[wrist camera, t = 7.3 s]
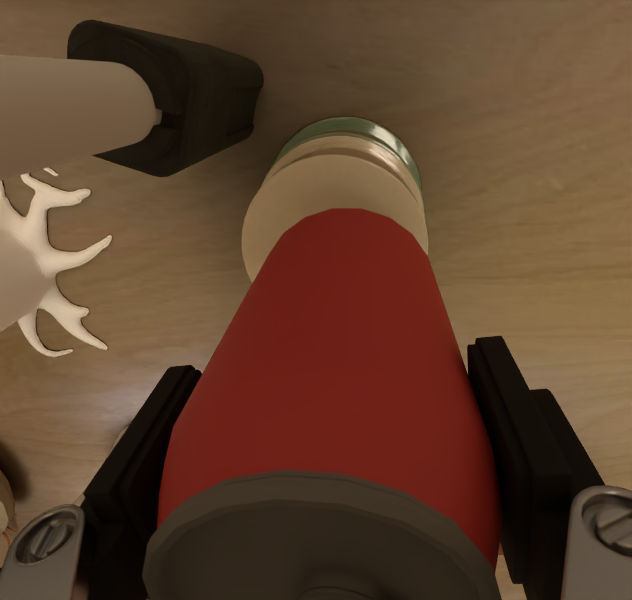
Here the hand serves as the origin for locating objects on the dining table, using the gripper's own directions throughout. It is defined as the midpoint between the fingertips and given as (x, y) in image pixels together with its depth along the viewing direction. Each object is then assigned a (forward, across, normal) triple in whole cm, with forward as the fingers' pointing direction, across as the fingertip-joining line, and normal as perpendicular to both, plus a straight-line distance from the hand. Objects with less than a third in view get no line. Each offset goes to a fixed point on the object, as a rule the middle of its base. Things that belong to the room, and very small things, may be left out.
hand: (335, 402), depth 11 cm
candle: (+23, +8, -8) cm, 25 cm away
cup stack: (+22, +1, 0) cm, 22 cm away
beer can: (+7, 0, 0) cm, 7 cm away
